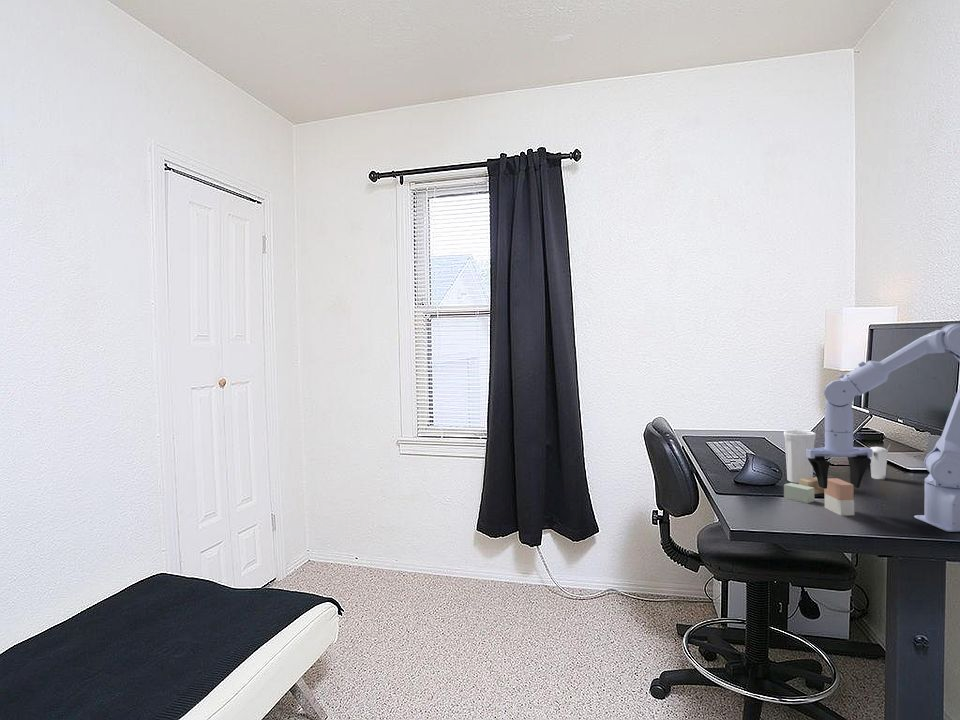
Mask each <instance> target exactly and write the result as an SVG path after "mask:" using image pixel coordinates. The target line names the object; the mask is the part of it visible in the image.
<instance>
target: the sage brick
mask: <svg viewBox="0 0 960 720" xmlns="http://www.w3.org/2000/svg"><path fill="white" fill-rule="evenodd" d="M783 498H785V499H787V500H792V501H795V502H801V503H804V504H809V503H813V502H815V494H814V487H809V486H804V485H799V483H794V482H788V483H785V484H783Z"/></svg>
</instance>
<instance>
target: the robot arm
mask: <svg viewBox="0 0 960 720" xmlns="http://www.w3.org/2000/svg"><path fill="white" fill-rule="evenodd" d="M946 352H947V353H949V354H950V355H952V356H954V357H955V359H957V361H958V362H959V363H960V323H950V324H947V325H945V326H943V327H942V328H941V329H936V330H933V331H931V332H929V333H927V334H925V335H922V336H920V337H918V338H917V339H915V340H914V341H912V342H910V343H909V344H907V345H905V346H904V347H902V348H900V349H898V350H897V351H895V352H894V353H892V354H890V355H889V356H887V357H886V358H885V357H884V358H883V359H882V360H880V361H876V360H867V362H864V361H863V360H862V361H861V362H859V363H857V365H858V366H857V367H856V368H854V369H851V370H850V371H849V372H847V373H845V374H843V373H841V374H839V375H838V378H839V379H834V380H832V381H829V382H828V383H827V384H826V386H825V387H824V391H823V394H824V397H825V399H826V401H825V404H824V405H825V406H824V407H825V410H824V446H822V447H814V449H806V457H808V460H809V462H810V463H811V465H812V467H813V472H814V474H815V477H817V480H818V484H819V487H821V488H823V489H827V484H828V480H827V479H828V476H829V475H828V473H829V469H830V465H831V461H829V460H827V458H847V460H848V465H849V475H850V476H849V477H850V479H849V481H850V482H849V483H850V484H853V485H854V488H857V489H860V485H861V483H862V480H863V477H864V475H865V474H866V471H867V469H868V467H869V466H870V464H871V459H870V457H872V449H871V447H867V446H866V447H863V446H862V447H859V446H854V411H853V402H854V400H855V397H856V396H862V395H864V394H866V393H868V392H870V391H872V390H873V389H875V388H877V387H879V386H880V385H882V384H884V383H886V382H888V378H889V375H890V373H892V372H895V370H898V369H900V368H902V367H903V366H905V365H908V364H910V363H912V362H913V361H915V360H918V359H919V358H921V357H924V356H926V355H929V354H930V355H931V354H944V353H946ZM923 463H924V467H925V469H926V471H927V472H929V473H928V475H927V476H926V477H925V478H924V504H923V505H924V506H923V507H924V508H923V509H924V511H923V512H924V514H917V515H914V516H913V517H914V518H915V519H917V520H918V521H921V522H924V523H925V524H929V525H931V526H934V527H936V528H938V529H941V530H943V531H945V532H960V385H959V386H958V389H957V392H956V394H955V398H954V400H953V403H952V406H951V408H950V412H949V414H948V417H947V419H946V423H945V425H944V428H943V431H942V433H941V435H940V437H939V439H938V440H937V441H936V443H935V446H934V447H933V449H932V450H931V451H930V452H929V453H928V454H927V455H925V457H924V461H923Z"/></svg>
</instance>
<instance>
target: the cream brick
mask: <svg viewBox="0 0 960 720" xmlns="http://www.w3.org/2000/svg"><path fill="white" fill-rule="evenodd" d="M824 508H825V509H827V510H828V511H831V512H833V513H835V514H836V515H839V516H855V499H854V500H838V499H836V498H834V497H831V496H829V495H827V494H825V493H824Z"/></svg>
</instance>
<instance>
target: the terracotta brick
mask: <svg viewBox="0 0 960 720" xmlns="http://www.w3.org/2000/svg"><path fill="white" fill-rule="evenodd" d="M827 480H828V484H827V489H824V493H823V494H824V495H825V494H827V495H829V496H831V497H834V498H836V499H838V500H854V501H855V499H854V489H855V487H854V485H853V484H851V482H848V481H846V480H842V479H841V478H836V477H835V478H832V477H831V478H829V477H828V478H827Z"/></svg>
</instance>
